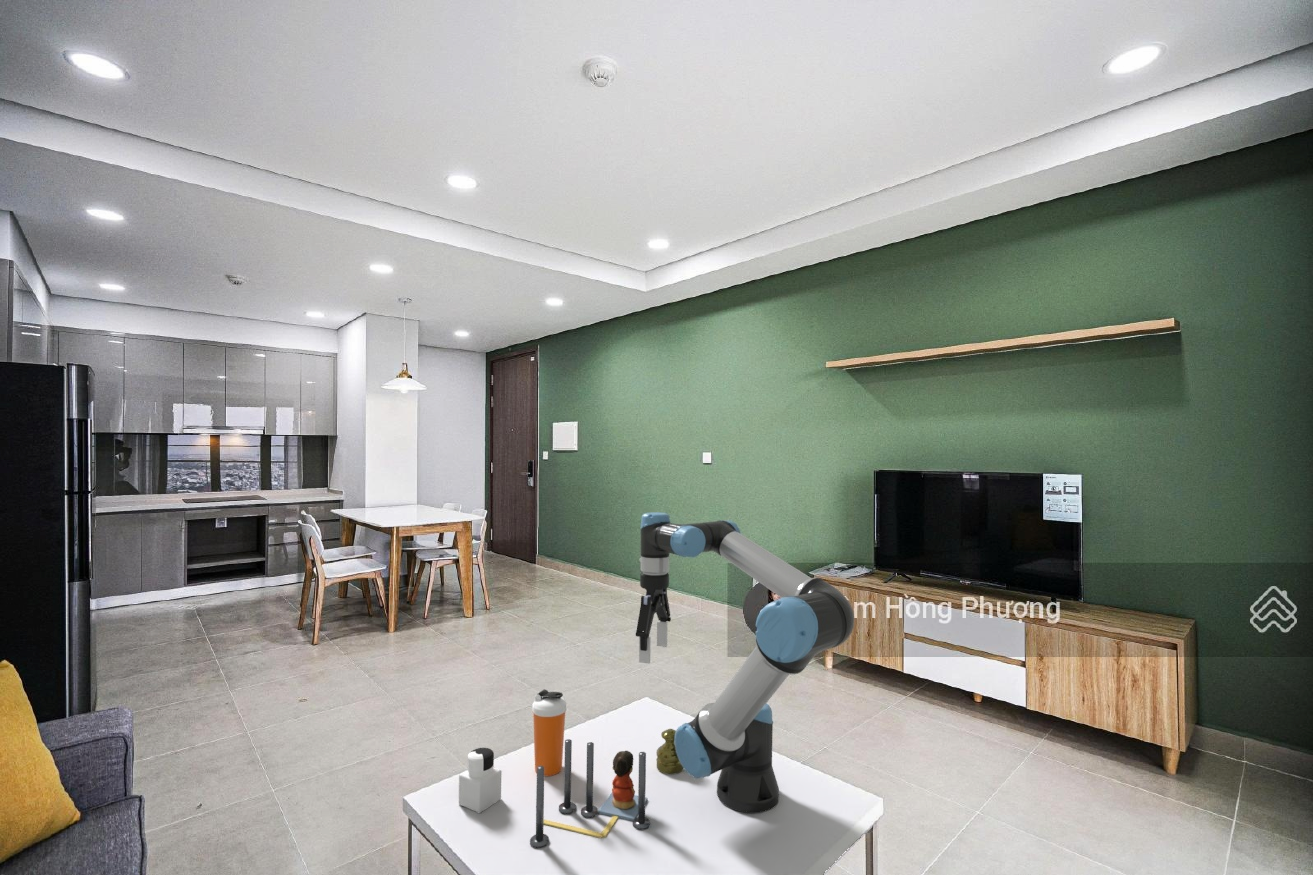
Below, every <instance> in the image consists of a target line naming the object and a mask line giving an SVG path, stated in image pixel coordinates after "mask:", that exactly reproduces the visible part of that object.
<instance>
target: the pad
mask: <svg viewBox="0 0 1313 875" xmlns="http://www.w3.org/2000/svg"><path fill="white" fill-rule="evenodd" d="M613 798H614V797H613V792H612V791H611V793H610V794H609V796H608V797H607V798H606V799H605V801H604V802H603V804H601V806H600V808H598V814H599V815H604V816H609V817H611V818H612V817H613V816H618V819H622V820H626V821H631V822H633V820H634V819H635V818H637V817H638V795H636V794H634V798H633V799H634V800H635V802H636V803H635V805H634V806H633V807H631V808H629V809H620V808H617V807H614V806H613V803H612V801H613ZM647 801H648V797H646V796H645V804H646V803H647Z"/></svg>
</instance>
